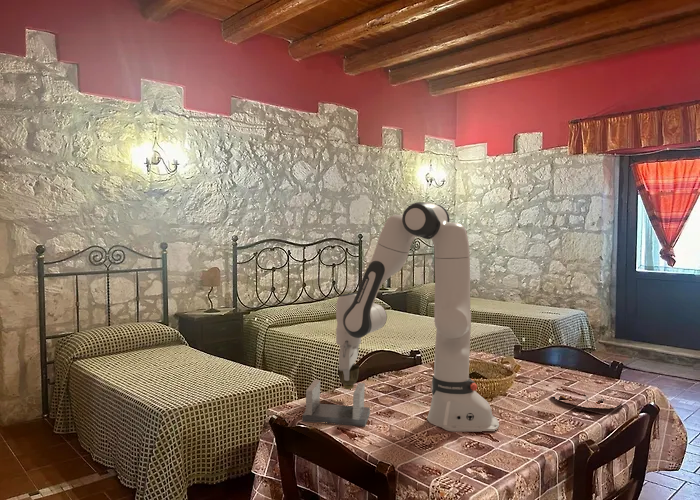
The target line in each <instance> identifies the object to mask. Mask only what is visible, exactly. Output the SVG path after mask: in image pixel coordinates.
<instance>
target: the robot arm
mask: <svg viewBox="0 0 700 500" xmlns="http://www.w3.org/2000/svg"><path fill="white" fill-rule="evenodd" d="M450 219H451V218H450V215H449V213H448V211H447V209H445V207H443V206H442V205H441V204H437V203H433V202H429V201H428V202H427V201H425V202H422V201H418V202H414V203H411V204H410V205H409V206H407V207H406V208H405V209H404V211H403V214H393V215H390V216H389V217H388V218H387V220H386V222H385V223H384V225H383V227H382V229H381V231H380V234H379V236H378V240H377V243H376V247H375V249H374V252H373V255H372V257H371V260H370V262H369V264H368V266H367V268H366V270H365V272H364V274H363V277H362V279H361V282H360V284H359V287H358V289H357V291H356V292H349V293H344V294H343V293H342V294H340V295H339V296H338V298H337V300H336V309H335V310H336V311H335V319H336V323H337V325H336V328H335V332H336V333H335V334H336V335H335V336H336V338H335V343H336V344H337V345H338V346H339V353H338V367H339V369H338V371H339V370H340V371H343V374H344V380H345V381H349V379H350V375H349V371H350V368H351V367H352V365H354V366H355V362H356V361H357V359H358V358H359V357H358V356H359V350H360V349H359V346H360V345H361V344H362V338H363V337H365V336H367V335H368V334H371V333H374V332H376V331H378V330H380V329H382V328H383V327H384V326H385V325H386V323H387V319H388V315H387V312H386V309H385V308H384V307H383V305H381V304H379V303H376V302H375V300H376V298H377V296H378V294H379V290H380V289H381V287H382V285H383V284H384V283H385V282H386V281H387V280H388V279H390V278H391V277H393V276H395V274H397V273H398V272H400V271H402V268H403V266H404V265H405V263H406V261H407V260H408V259H407V258H408V255H409V253H410V249H411V246H412V243H413V242H414V240H415V238H417V237H418V238H422V239H425V240H431V241H432V243H433V248H434V311H433V312H434V316H433V317H434V321H433V322H434V327H435V329H436V331H435V345H434V362H433V363H434V364H433V365H434V366H433V375H432V378H431V394H432V396H431V397H432V398H431V402H430V406H429V407H430V408H429V411H428V415H427V417H426V419H427V421H428V422H429V423H430V424H432V425H434V426H436V427H439V428H442V429H443V430H445V431H448V432H469V433H471V432H473V433H475V432H476V433H477V432H478V433H479V432H480V433H481V432H482V431H495V430H496V429H498V427H499V428H500V423H499V419H498V418H497V417H496V416H494V415H493V412H492V407H491V405H490V403H489V402H488V400H487V399H485V398H484V397H483V396H481V395H480V394H479V393H478V392H477V390H478V385H477V383H476V382H475V380H474V379H473V378H470V375H469V374H470V356H471V355H470V353H471V352H470V351H471V332H472V331H471V328H472V311H471V258H470V256H471V254H470V252H471V251H470V243H469V242H470V241H469V237H468V234H467V233H468V232H467V229H466V227H465V226H463V224H461V223H458V222H454V221H453V222H451V221H450ZM498 430H499V429H498ZM495 432H496V431H495ZM482 433H483V432H482Z"/></svg>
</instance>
